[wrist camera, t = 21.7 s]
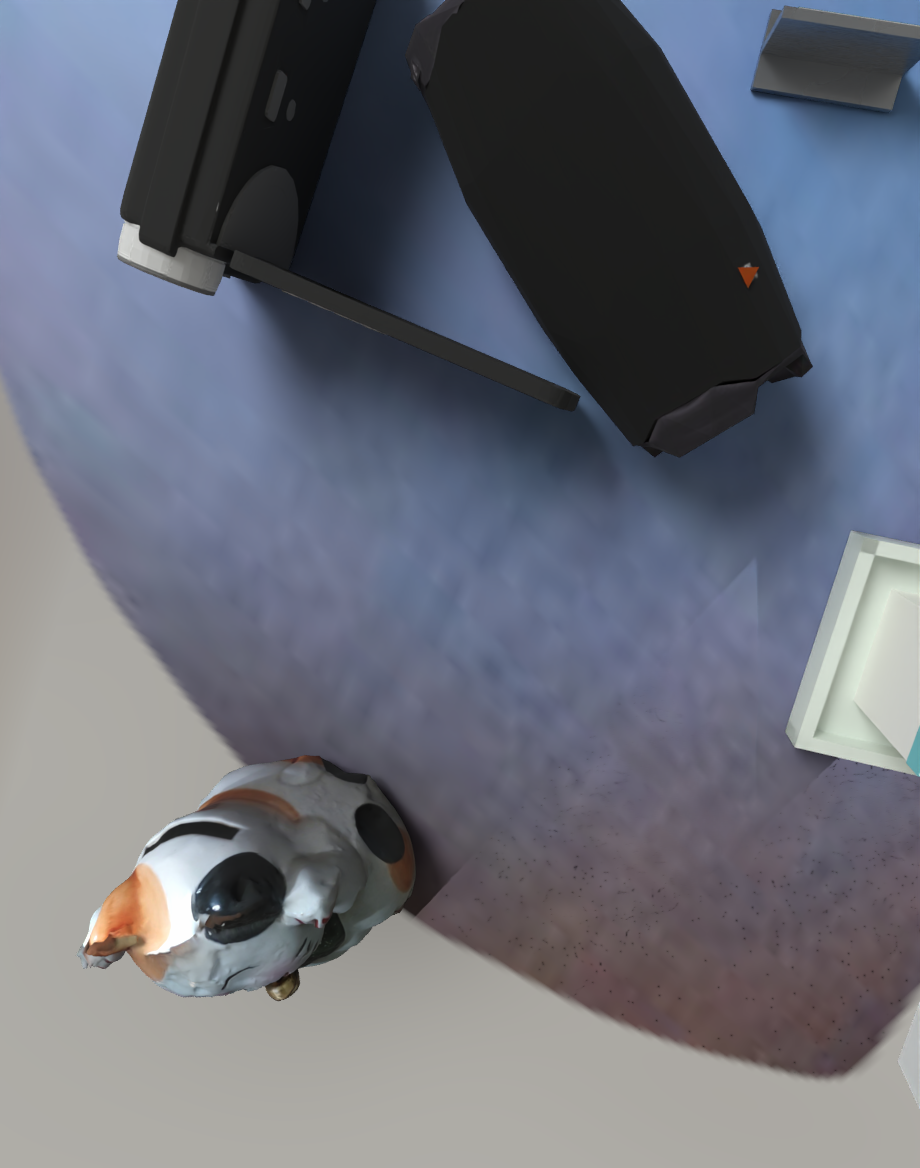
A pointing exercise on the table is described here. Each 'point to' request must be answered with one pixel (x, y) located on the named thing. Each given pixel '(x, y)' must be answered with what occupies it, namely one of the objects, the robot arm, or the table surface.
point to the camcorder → (259, 160)
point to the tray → (852, 653)
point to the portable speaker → (610, 211)
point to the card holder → (835, 57)
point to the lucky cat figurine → (259, 882)
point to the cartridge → (895, 677)
